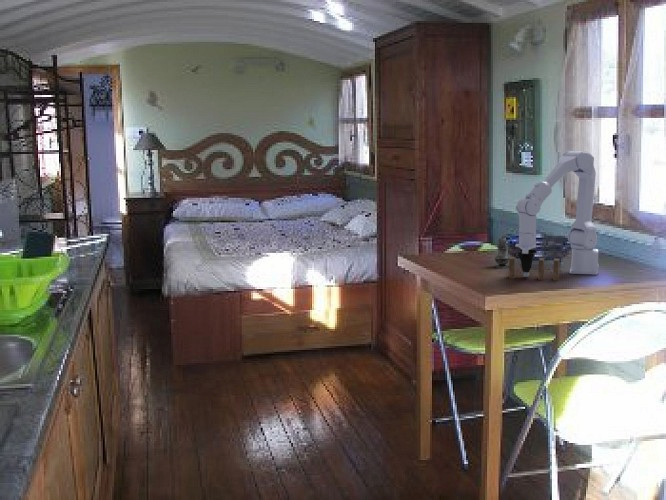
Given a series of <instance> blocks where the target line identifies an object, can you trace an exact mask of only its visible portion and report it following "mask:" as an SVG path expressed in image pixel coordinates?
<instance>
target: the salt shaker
mask: <svg viewBox="0 0 666 500" xmlns="http://www.w3.org/2000/svg"><path fill="white" fill-rule="evenodd" d="M497 249H498V250H497V255H496V256H494V257H493V258H494V261H495V263H496V265H495V266H494V267H495V268H496V269H509V265H508V263H509V259H510V257H511V256H508V255H507V249H508V246H507V239H506V238H504V235H502V236H501V237H500V238H499V239H498V245H497Z"/></svg>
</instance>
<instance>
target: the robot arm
mask: <svg viewBox="0 0 666 500" xmlns="http://www.w3.org/2000/svg"><path fill="white" fill-rule="evenodd" d="M594 161H595V157H594V156H593V155H592V154H591V153H590V152H589V151H587V150H586V151H585V150H583V151H579V150H578V151H577V150H575V151H574V150H573V151H572V150H566V151H565V152H564V153H563V154H562V156H560V157H559V159H558V163H557V164H556V165H555V166H554V168H553V169H552V170H551V171H550V173H549V174H548V176H546V177H545V179H544V180H543V181H538V182H535V184H534V187H533V188H532V189H531V190H530V191H529V192H528V193H526V195H525V196H524V197H522V198H521V199H519V200H518V202H517V205H516V206H515V210H516V211H517V214H518V218H519V220H518V221H519V224H518V243H516V244H515V246H514V247H516V248H519V251H518V252H517V255H518V257H519V260H520V264H521V270H522V272H529V273H530V270H531V269H532V264H533V259H534V257H535V254H536V252H537V242H536V241H537V214H538V213H540V211H541V206H542V204H543V203H544V202H545V201H546V200H547V199H548V197H549V196H550V195H551V194H552V191H553V190H552V188H553V187H554V186H555V184H556V183H558V182H559V181H560V180H561V179H562V178H563V177H564V175H566V174H567V173H570V172H573V173H574V174H575V175H576V176H577V177H578V186H577V187H578V188H577V200H576V212H575V221H574V222H573V223H572V224H571V225H570V230H569V232H568V235H567V241H568V244H569V245H570V248H571V261H570V262H571V266H570V269H569V274H572V275H573V274H575V275H576V274H577V275H594V276H596V275H598V271H599V269H600V267H599V266H600V264H599V249H598V248H595V247H596V245H597V244H598V235H597V227H596V226H595V224H593V221H592V220H593V211H594V209H593V208H594V198H595V186H596V185H595V183H596V175H597V174H596V168H595V165H594V163H595V162H594Z"/></svg>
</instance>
